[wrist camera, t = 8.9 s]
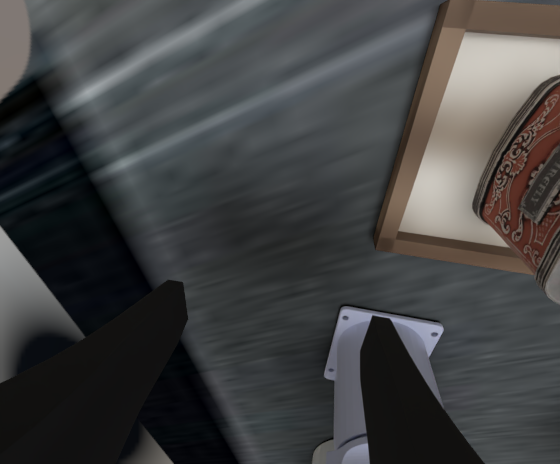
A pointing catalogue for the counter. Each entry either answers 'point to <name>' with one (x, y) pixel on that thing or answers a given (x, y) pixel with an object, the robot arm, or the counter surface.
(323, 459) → the utensil holder
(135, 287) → the counter surface
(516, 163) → the lighter
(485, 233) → the tray
